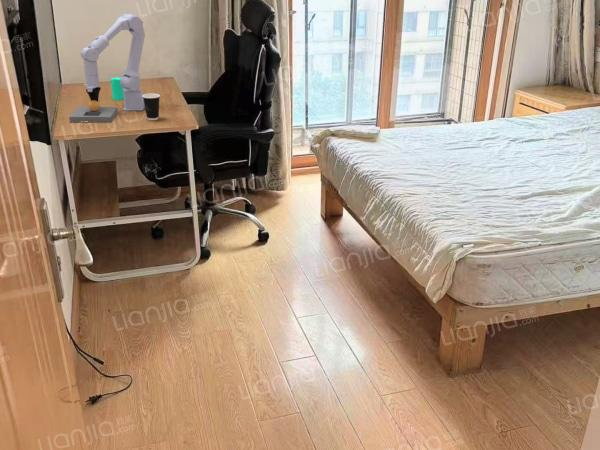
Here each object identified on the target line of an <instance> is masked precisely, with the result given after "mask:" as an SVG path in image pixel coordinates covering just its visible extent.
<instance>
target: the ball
mask: <svg viewBox="0 0 600 450" xmlns="http://www.w3.org/2000/svg"><path fill="white" fill-rule="evenodd" d="M87 107H89V109H90V110H91V111H97V110H98V109H99V107H101V105H100V103H99V101H98V102H97V101H95V100H92V101H91V100H90V101H89V102H88V105H87Z"/></svg>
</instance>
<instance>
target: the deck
mask: <svg viewBox="0 0 600 450" xmlns="http://www.w3.org/2000/svg"><path fill="white" fill-rule="evenodd" d="M118 113H119V111H118V106H100V107H99V109H98V110H97V111H91V110H90V109H89V107H88V106H78V107H77V108H76V109H75V110H74V111H73V112H72V113H71V114H70V115H69V123H82V122H81V121H88V122H87V123H112V121H113V120H114V118H115V117H116V116H117V114H118Z"/></svg>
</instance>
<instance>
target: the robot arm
mask: <svg viewBox="0 0 600 450" xmlns="http://www.w3.org/2000/svg"><path fill="white" fill-rule="evenodd" d="M122 31H129V33H130V35H131V36H132V39H131V44H130V47H129V48H130V49H129V53H128V58H127V59H128V60H127V63H126V64H127V65H126V69H125V70H124V71H123V74H122V76H121V77H120V78H121V79H120V84H121V86H122V87H123V94H124V99H123V102H124V107H123V108H122V111H144V109H145V105H144V100H143V97H142V95H144V94H145V93H144V91H143V90H140V89H141V80H140V79H141V76H140V74H139V68H140V62H141V58H142V53H143V49H144V48H143V47H144V43H145V38H146V34H145V30H144V22H143V20H142V19H141V18H140V16H139V15H135V14H130V13H129V12H126V13H123V14H121V15H120V16H119V17H118V18H117V20H116V21H115V22H114V23H113V24H112V26H111V27H109V29H107V31H106V32H105V33H104V34H103V35H98V36H95V37H94V40H93V41H92V42H91V43H89V44H87V47H85V46H84V48H83V49H82V50H81V51H80V52H81V53H80V57H81V58H82V59H83V67H84V75H85V83H83V87H86V90H85V92H86V93H87V94H88V98H89V99H90V101H92V100H95V101H97V102H98V103H99V97H100V91H101V90H102V88H101V85H100V84H101V83H100V77H99V69H98V68H99V67H98V59H99V57H100V54H101V53H102V52H104V51H105V49H107V48H108V47H109V45H110V41H111V40H113V39H114V38H115V37H116V36H117V35H118V34H119V33H120V32H122Z"/></svg>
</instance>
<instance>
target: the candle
mask: <svg viewBox="0 0 600 450" xmlns="http://www.w3.org/2000/svg"><path fill="white" fill-rule="evenodd" d="M115 76H116V77H111V78H110V86H111V94H112V95H111V96H112V97H111V98H112V100H114V101H124V94H123V87H122V86H121V84H120V79H121V77H118V76H117V75H115Z"/></svg>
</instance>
